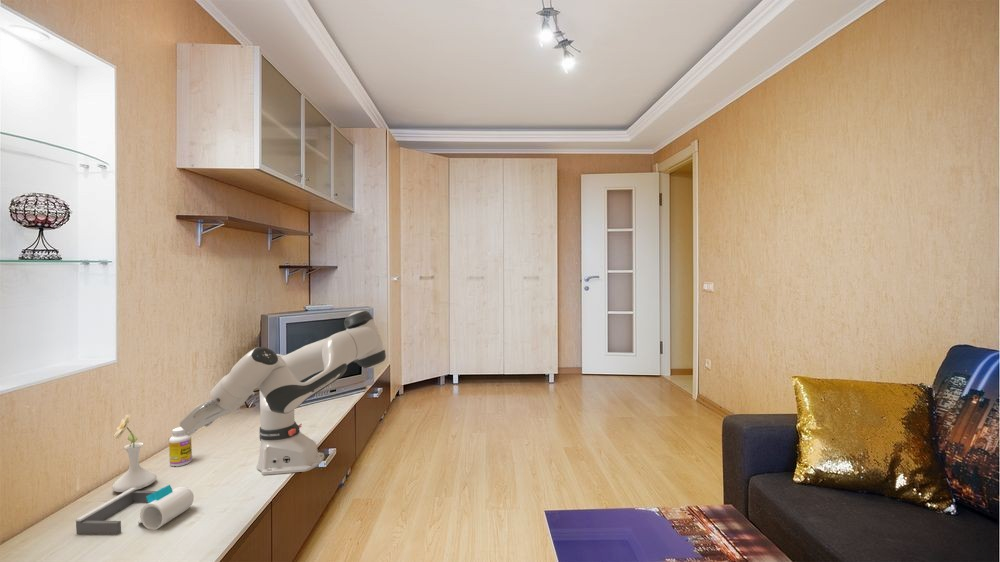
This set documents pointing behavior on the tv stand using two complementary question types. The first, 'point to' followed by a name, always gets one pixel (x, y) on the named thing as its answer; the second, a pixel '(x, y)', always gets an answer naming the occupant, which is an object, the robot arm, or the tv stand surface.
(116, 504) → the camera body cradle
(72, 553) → the tv stand surface
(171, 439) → the supplement bottle
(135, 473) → the flower in vase
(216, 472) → the tv stand surface
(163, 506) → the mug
